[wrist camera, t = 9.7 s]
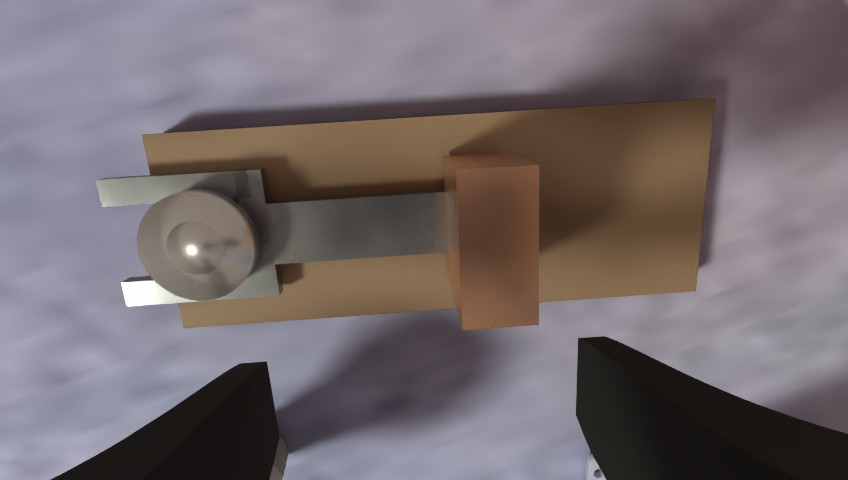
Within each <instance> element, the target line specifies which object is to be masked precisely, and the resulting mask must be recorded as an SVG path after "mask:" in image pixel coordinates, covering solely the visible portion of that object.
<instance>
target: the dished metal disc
mask: <svg viewBox="0 0 848 480" xmlns="http://www.w3.org/2000/svg"><path fill="white" fill-rule="evenodd" d="M259 246H260V245H259V237H258V233H257V230H256V227H255V225H254V223H253V221H252V219H251V217H250V216H249V215H248V213H247V212H246V211H245V210H244V209H243V207H241V206H240V205H239V204H238V203H237V202H235V201H234V200H233V199H231V198H229V197H228V196H226V195H224V194H221V193H219V192H216V191H212V190H206V189H191V190H185V191H182V192H179V193H176V194H173V195H170V196H167V197H165V198H163V199H161V200H159V201H158V202H156V203H155V204H154V205H153V206H151V207H150V209H149V210H148V211H147V212H146V214H145V215H144V217H143V218H142V221H141V223H140V225H139V229H138V235H137V247H138V253H139V256H140V259H141V261H142V264H143V266H144V268H145V269H146V271H147V272H148V274H149V275H150V276H151V278H152V279H153V280H154V281H155V282H156V283H157V284H158V285H160V286H161V287H162V288H164V289H165V290H167V291H168V292H170V293H172V294H174V295H176V296H179V297H182V298H185V299H189V300H196V301H207V300H214V299H217V298H221V297H223V296H226V295H227V294H229V293H231V292H233V291H234V290H235V289H236V288H238V287H239V286H240V284H241V283H242V282H243V281H244V280H245V279H246V278H247V277H248V276H249V275H250V274H251V272H252V271H253V269H254V267H255V265H256V263H257V260H258V256H259Z"/></svg>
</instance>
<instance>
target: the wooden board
mask: <svg viewBox="0 0 848 480" xmlns="http://www.w3.org/2000/svg"><path fill="white" fill-rule="evenodd" d="M714 104H715V98H714V99H696V100H679V101H664V102H648V103H632V104H616V105H600V106H585V107H569V108H553V109H537V110H521V111H505V112H490V113H474V114H458V115H442V116H426V117H410V118H395V119H379V120H363V121H347V122H331V123H315V124H300V125H284V126H268V127H252V128H236V129H220V130H205V131H189V132H173V133H158V134H144V135H142V137H143V142H144V147H145V151H146V156H147V160H148V165H149V170H150V174H151V175H160V174H175V173H190V172H206V171H221V170H236V169H252V168H265V171H266V177H267V184H268V190H269V197H270V201H280V200H295V199H310V198H325V197H340V196H355V195H370V194H385V193H400V192H415V191H430V190H444V175H443V156H451V155H466V154H482V153H497V152H506V153H509V154H511V155H514V156H517V157H519V158H522V159H525V160H528V161H530V162H533V163H536V164H539V302H551V301H565V300H579V299H592V298H606V297H620V296H634V295H647V294H661V293H675V292H689V291H696V284H697V274H698V264H699V254H700V244H701V234H702V224H703V214H704V204H705V194H706V184H707V174H708V164H709V154H710V144H711V134H712V124H713V114H714ZM231 199H233V200H234V201H235V202H237V203H238V198H231ZM238 204H239V203H238ZM280 270H281V277H282V284H283V291H282V293H281V294H280V296H267V297H253V298H239V299H225V300H211V301H197V302H183V303H178V304H179V309H180V313H181V318H182V323H183V327H184V328H194V327H208V326H221V325H235V324H249V323H263V322H276V321H290V320H304V319H318V318H331V317H345V316H359V315H373V314H386V313H400V312H414V311H427V310H441V309H455V308H456V304H455V300H454V296H453V293H452V289H451V285H450V282H449V276H448V256H447V253H432V254H418V255H404V256H390V257H375V258H361V259H347V260H332V261H318V262H304V263H289V264H280Z"/></svg>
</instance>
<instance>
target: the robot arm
mask: <svg viewBox="0 0 848 480" xmlns="http://www.w3.org/2000/svg"><path fill="white" fill-rule="evenodd" d="M576 416H577V419H578V421H579V424H580V426H581V429H582V431H583V434H584V436H585V439H586V441H587V443H588V446H589V448H590V450H591V453H592V454H591V455H589V457H588V458H587V466H586V480H848V434H846V433H842V432H839V431H835V430H832V429H829V428H825V427H822V426H819V425H815V424H812V423H809V422H806V421H803V420H800V419H797V418H794V417H791V416H788V415H785V414H783V413H780V412H777V411H774V410H771V409H769V408H766V407H763V406H760V405H757V404H755V403H752V402H750V401H747V400H744V399H742V398H739V397H737V396H734V395H732V394H730V393H727V392H725V391H723V390H720V389H718V388H716V387H713V386H711V385H709V384H706V383H704V382H702V381H700V380H697V379H695V378H693V377H691V376H689V375H687V374H684V373H682V372H680V371H678V370H676V369H674V368H672V367H670V366H668V365H666V364H663V363H661V362H659V361H657V360H655V359H653V358H651V357H649V356H647V355H645V354H643V353H641V352H639V351H637V350H635V349H633V348H631V347H629V346H626V345H624V344H622V343H620V342H618V341H615V340H613V339H610V338H607V337H605V336H603V337H590V338H578V366H577V400H576ZM279 439H280V438H279V432H278V426H277V420H276V414H275V408H274V402H273V396H272V390H271V384H270V378H269V372H268V366H267V362H255V363H242V364H239V365H237V366H235V367H233V368H231V369H230V370H228V371H226V372H225V373H223V374H222V375H220V376H219V377H217V378H216V379H214V380H213V381H211V382H210V383H208V384H207V385H206V386H204V387H203V388H201V389H200V390H198V391H197V392H195V393H194V394H192V395H191V396H189V397H188V398H187V399H185V400H184V401H182V402H181V403H179V404H178V405H176V406H175V407H173V408H172V409H170V410H169V411H167V412H166V413H164V414H163V415H161V416H160V417H158V418H157V419H155V420H153V421H152V422H150V423H149V424H147V425H145V426H144V427H142V428H141V429H139V430H138V431H136V432H134V433H133V434H131V435H130V436H128V437H127V438H125V439H123V440H122V441H120V442H118V443H117V444H115V445H113V446H112V447H110V448H108V449H107V450H105V451H103V452H101V453H100V454H98V455H96V456H94V457H92V458H91V459H89V460H87V461H85V462H83V463H81V464H79V465H78V466H76V467H74V468H72V469H70V470H68V471H66V472H65V473H63V474H61V475H59V476H57V477H55V478H53V479H51V480H269V479H270V475H271V472H272V468H273V464H274V460H275V456H276V451H277V447H278V443H279ZM598 469H600V470H599V471H597V472H595V471H596V470H598Z"/></svg>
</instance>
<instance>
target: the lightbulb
mask: <svg viewBox="0 0 848 480" xmlns="http://www.w3.org/2000/svg"><path fill="white" fill-rule="evenodd" d="M279 438H280V439H279V443H278V447H277V451H276V456H275V460H274V464H273V468H272V472H271V475H270V479H269V480H282V477H283V475H284V470H285V467H286V461H287V457H288V449H287V446H286V444H285V442H284V441H283V440H282V439H281V437H280V436H279Z"/></svg>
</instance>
